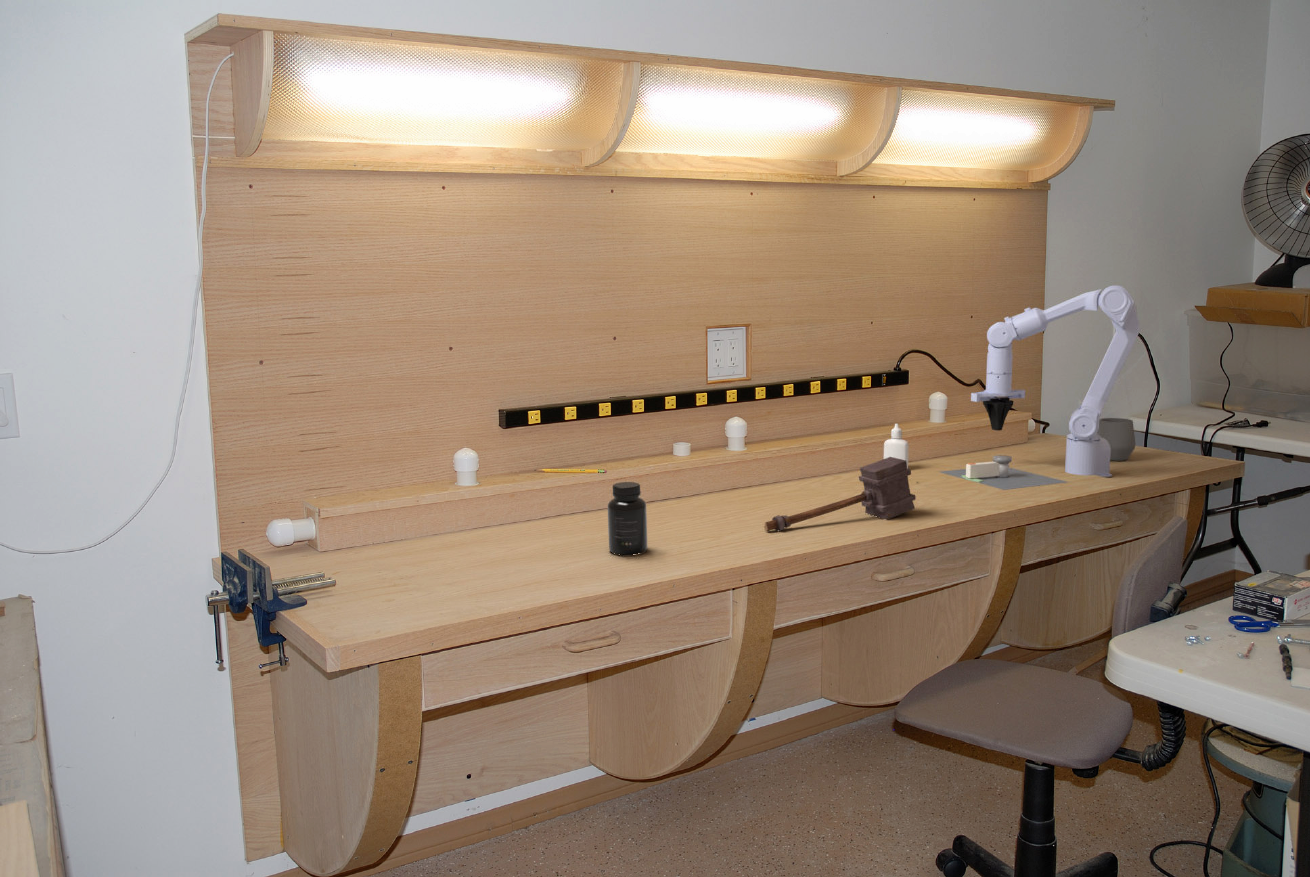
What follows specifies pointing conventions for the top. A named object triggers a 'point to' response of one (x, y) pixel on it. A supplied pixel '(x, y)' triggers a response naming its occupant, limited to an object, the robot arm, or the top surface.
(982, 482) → the dial board
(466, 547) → the top surface
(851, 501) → the hammer
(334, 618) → the top surface
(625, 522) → the supplement bottle
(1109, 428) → the cup
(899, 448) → the eye dropper bottle
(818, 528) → the top surface
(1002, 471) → the peg key
